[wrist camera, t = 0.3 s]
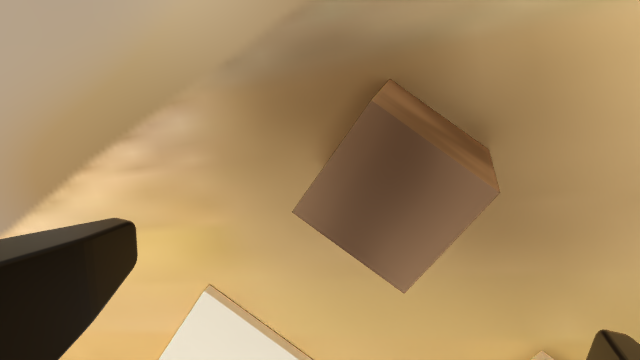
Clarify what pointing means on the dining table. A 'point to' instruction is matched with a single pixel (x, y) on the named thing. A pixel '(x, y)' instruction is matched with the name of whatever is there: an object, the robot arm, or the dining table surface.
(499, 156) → the dining table surface
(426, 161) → the walnut cube
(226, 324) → the blueprint board
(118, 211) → the dining table surface
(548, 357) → the offwhite cube
